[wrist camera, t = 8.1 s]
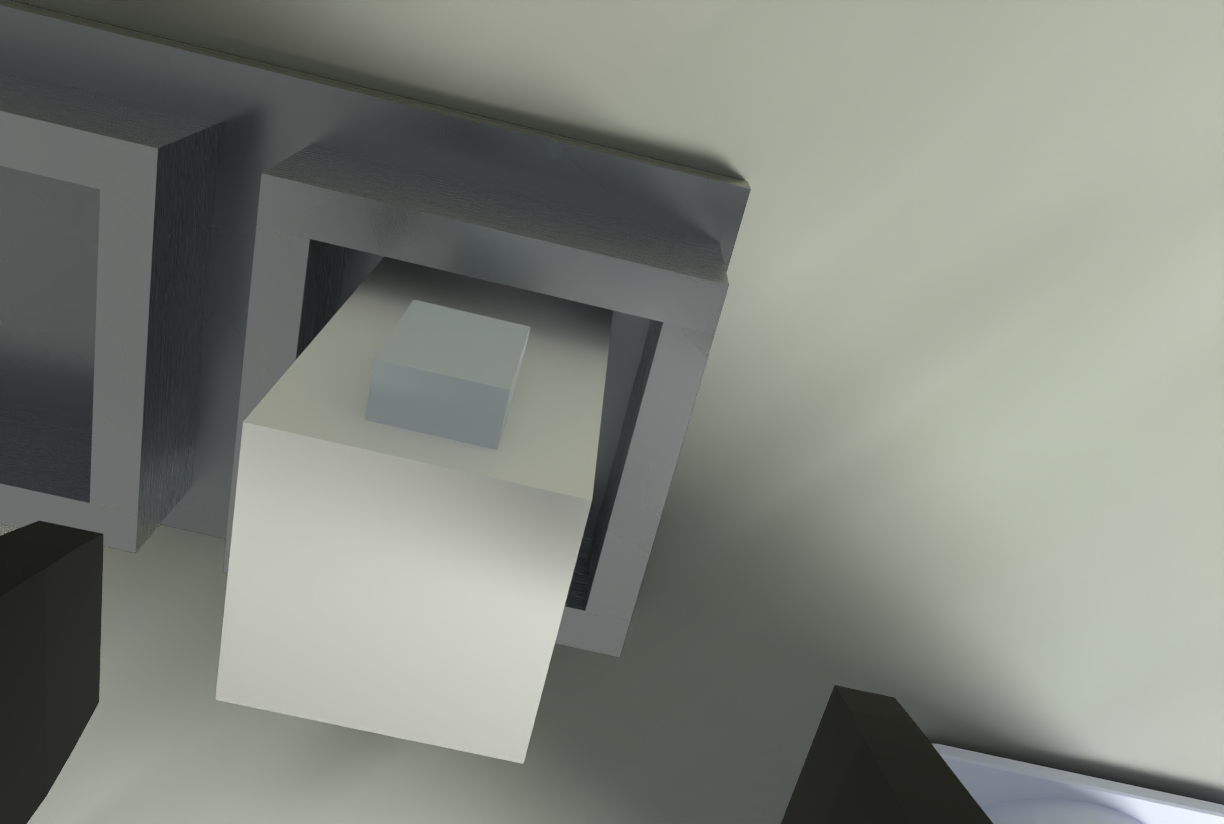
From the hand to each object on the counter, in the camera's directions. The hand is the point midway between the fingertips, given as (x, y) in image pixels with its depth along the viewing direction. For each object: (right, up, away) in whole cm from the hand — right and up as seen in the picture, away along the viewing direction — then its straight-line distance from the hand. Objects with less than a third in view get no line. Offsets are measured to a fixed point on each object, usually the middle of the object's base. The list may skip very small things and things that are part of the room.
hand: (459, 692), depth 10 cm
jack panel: (-5, +5, +9) cm, 11 cm away
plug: (-1, +3, +9) cm, 9 cm away
